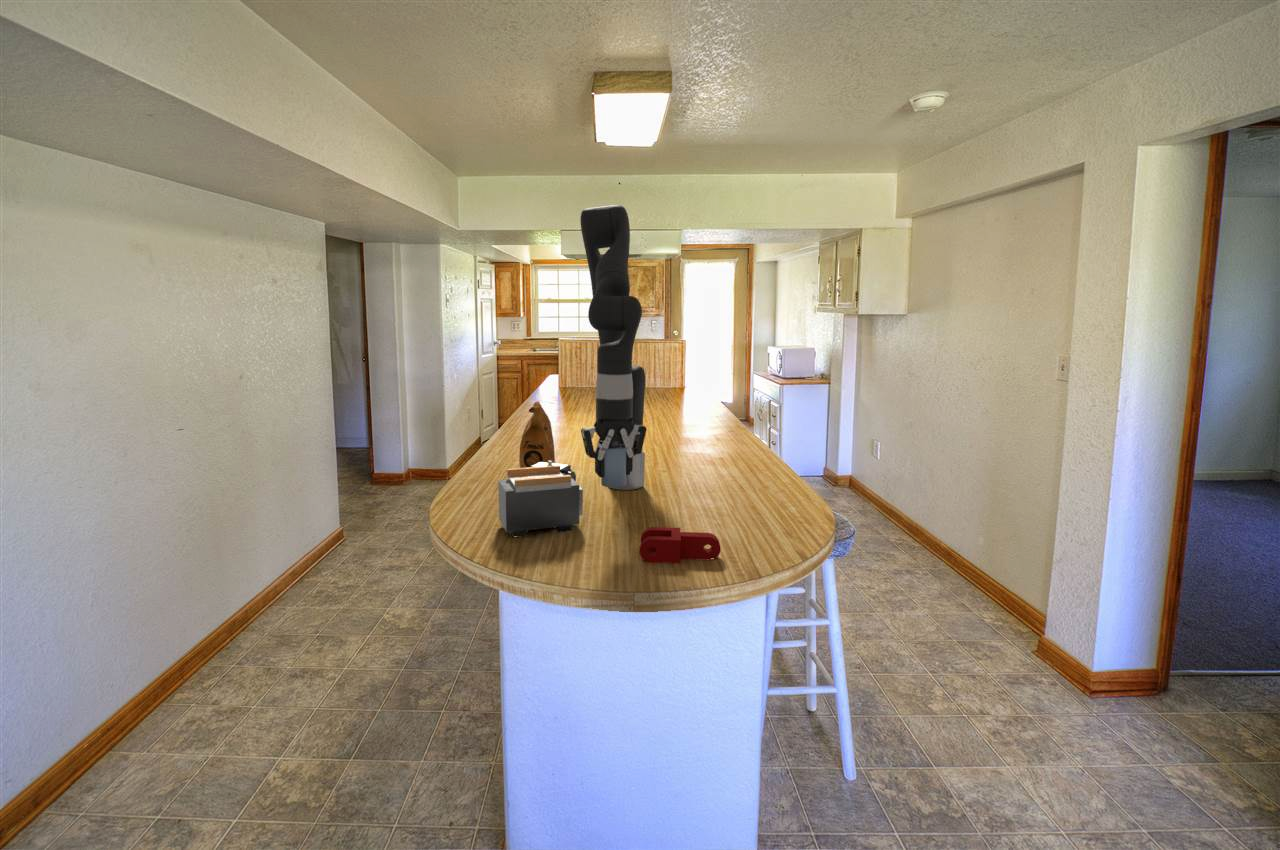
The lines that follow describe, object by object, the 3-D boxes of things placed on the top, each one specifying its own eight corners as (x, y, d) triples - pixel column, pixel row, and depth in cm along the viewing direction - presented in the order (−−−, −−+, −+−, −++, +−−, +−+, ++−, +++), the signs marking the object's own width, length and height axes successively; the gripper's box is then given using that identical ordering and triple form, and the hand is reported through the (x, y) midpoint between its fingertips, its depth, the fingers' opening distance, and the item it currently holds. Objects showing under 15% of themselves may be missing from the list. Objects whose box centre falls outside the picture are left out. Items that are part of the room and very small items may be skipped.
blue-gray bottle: (621, 479, 141) (621, 436, 139) (629, 486, 136) (630, 441, 134) (598, 481, 139) (598, 438, 137) (605, 488, 134) (606, 443, 133)
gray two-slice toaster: (572, 517, 154) (572, 464, 152) (585, 531, 145) (585, 474, 142) (498, 524, 148) (497, 469, 145) (506, 539, 139) (505, 481, 136)
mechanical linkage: (639, 563, 128) (639, 539, 127) (640, 549, 135) (641, 526, 134) (720, 566, 128) (722, 541, 127) (718, 552, 135) (719, 529, 134)
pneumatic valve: (568, 514, 156) (568, 465, 154) (524, 508, 159) (523, 460, 157) (577, 507, 161) (577, 460, 159) (534, 502, 164) (534, 456, 162)
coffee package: (514, 487, 177) (513, 407, 173) (523, 475, 189) (522, 400, 185) (551, 489, 177) (550, 408, 172) (558, 476, 189) (558, 401, 185)
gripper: (640, 391, 140) (638, 468, 143) (575, 393, 135) (575, 473, 138) (653, 396, 133) (652, 477, 137) (586, 399, 128) (586, 483, 131)
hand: (613, 474), depth 137 cm, fingers closed on blue-gray bottle, 5 cm apart
